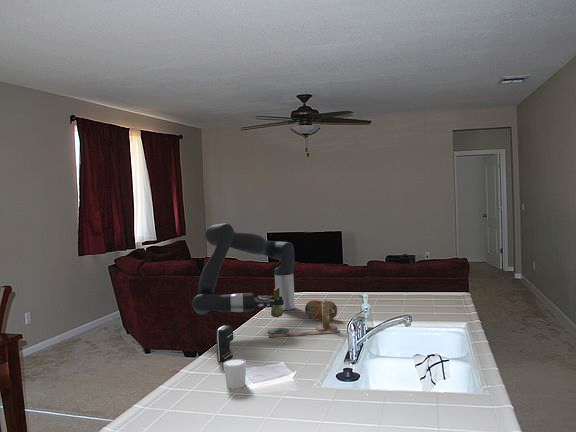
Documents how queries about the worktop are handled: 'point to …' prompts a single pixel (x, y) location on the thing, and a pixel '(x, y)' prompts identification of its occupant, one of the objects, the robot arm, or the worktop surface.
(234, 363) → the white cup
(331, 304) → the tin
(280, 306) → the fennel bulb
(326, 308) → the brown long irregular piece
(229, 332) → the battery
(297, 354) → the worktop surface
